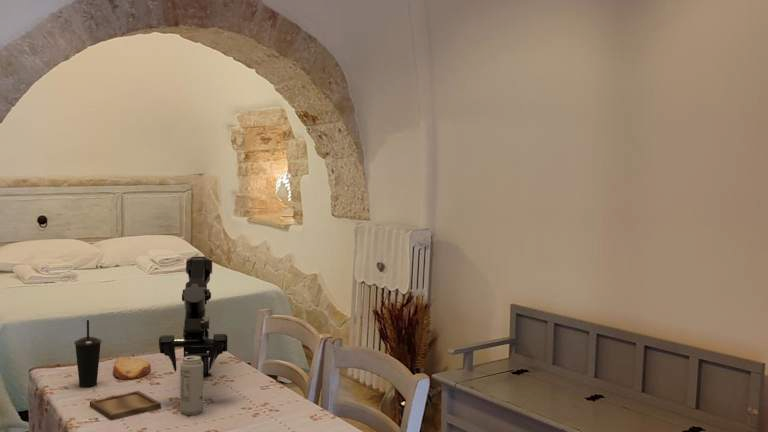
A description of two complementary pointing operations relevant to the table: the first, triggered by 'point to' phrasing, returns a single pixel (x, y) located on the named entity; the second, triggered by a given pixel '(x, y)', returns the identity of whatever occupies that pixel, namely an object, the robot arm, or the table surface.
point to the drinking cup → (88, 359)
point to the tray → (125, 405)
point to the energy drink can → (191, 385)
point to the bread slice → (131, 368)
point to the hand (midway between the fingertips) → (192, 370)
